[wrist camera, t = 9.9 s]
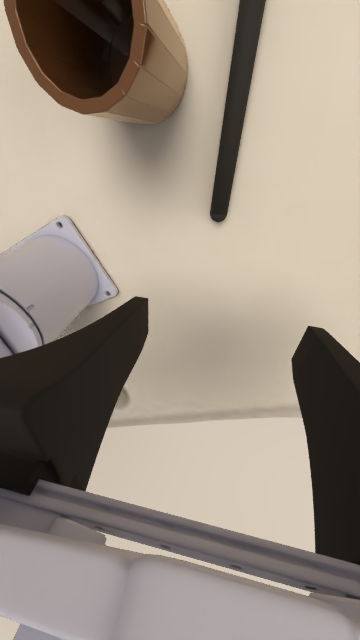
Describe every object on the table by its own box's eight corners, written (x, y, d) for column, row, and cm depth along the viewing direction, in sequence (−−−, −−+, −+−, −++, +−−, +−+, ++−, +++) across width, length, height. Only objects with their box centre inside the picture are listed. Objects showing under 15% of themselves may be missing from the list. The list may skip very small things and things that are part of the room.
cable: (227, 220, 18) (227, 225, 17) (207, 218, 18) (206, 222, 17) (352, -452, 7) (370, -544, 6) (298, -442, 7) (307, -531, 6)
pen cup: (135, 140, 16) (70, 140, 10) (90, 46, 14) (-29, -29, 8) (201, 94, 14) (172, 58, 8) (162, -23, 12) (79, -200, 6)
